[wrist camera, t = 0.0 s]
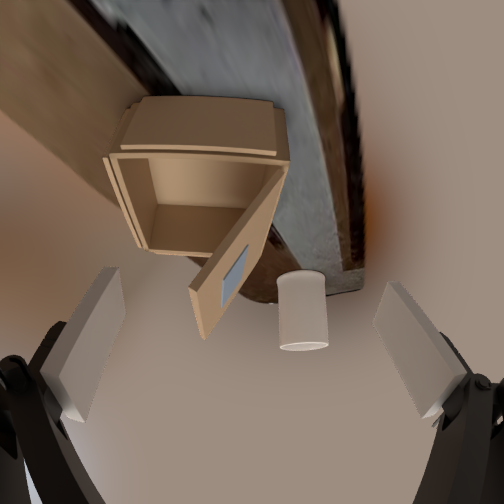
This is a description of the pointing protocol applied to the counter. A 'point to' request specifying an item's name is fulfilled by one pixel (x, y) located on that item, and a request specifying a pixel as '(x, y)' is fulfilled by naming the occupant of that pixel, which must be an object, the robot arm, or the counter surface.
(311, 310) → the mug
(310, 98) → the counter surface
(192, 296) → the flap
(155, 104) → the carton
